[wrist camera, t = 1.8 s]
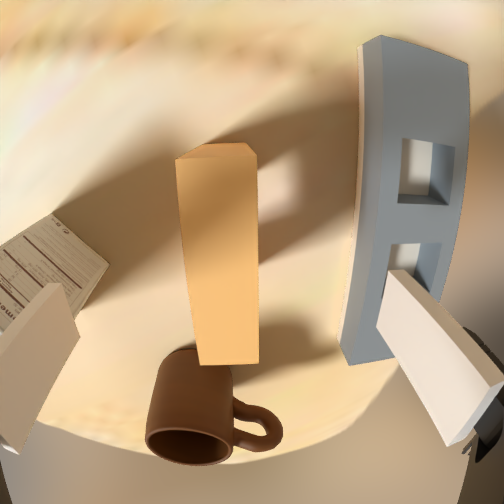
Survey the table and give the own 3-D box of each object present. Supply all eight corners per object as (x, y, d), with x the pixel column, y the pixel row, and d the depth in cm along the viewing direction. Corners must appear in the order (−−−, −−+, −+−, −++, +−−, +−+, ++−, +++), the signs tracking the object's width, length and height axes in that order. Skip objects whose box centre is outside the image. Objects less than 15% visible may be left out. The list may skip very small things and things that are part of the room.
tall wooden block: (202, 144, 20) (175, 159, 10) (245, 142, 20) (257, 155, 10) (210, 271, 24) (200, 365, 14) (248, 270, 24) (258, 363, 14)
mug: (281, 351, 28) (297, 430, 19) (268, 398, 31) (277, 469, 22) (157, 341, 27) (136, 419, 18) (161, 390, 30) (148, 461, 21)
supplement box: (79, 313, 25) (22, 410, 13) (25, 266, 23) (-51, 343, 11) (114, 263, 23) (43, 368, 12) (52, 209, 21) (-49, 278, 9)
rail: (357, 47, 17) (380, 35, 14) (438, 68, 18) (467, 63, 14) (336, 338, 28) (348, 365, 24) (404, 328, 28) (421, 351, 24)
